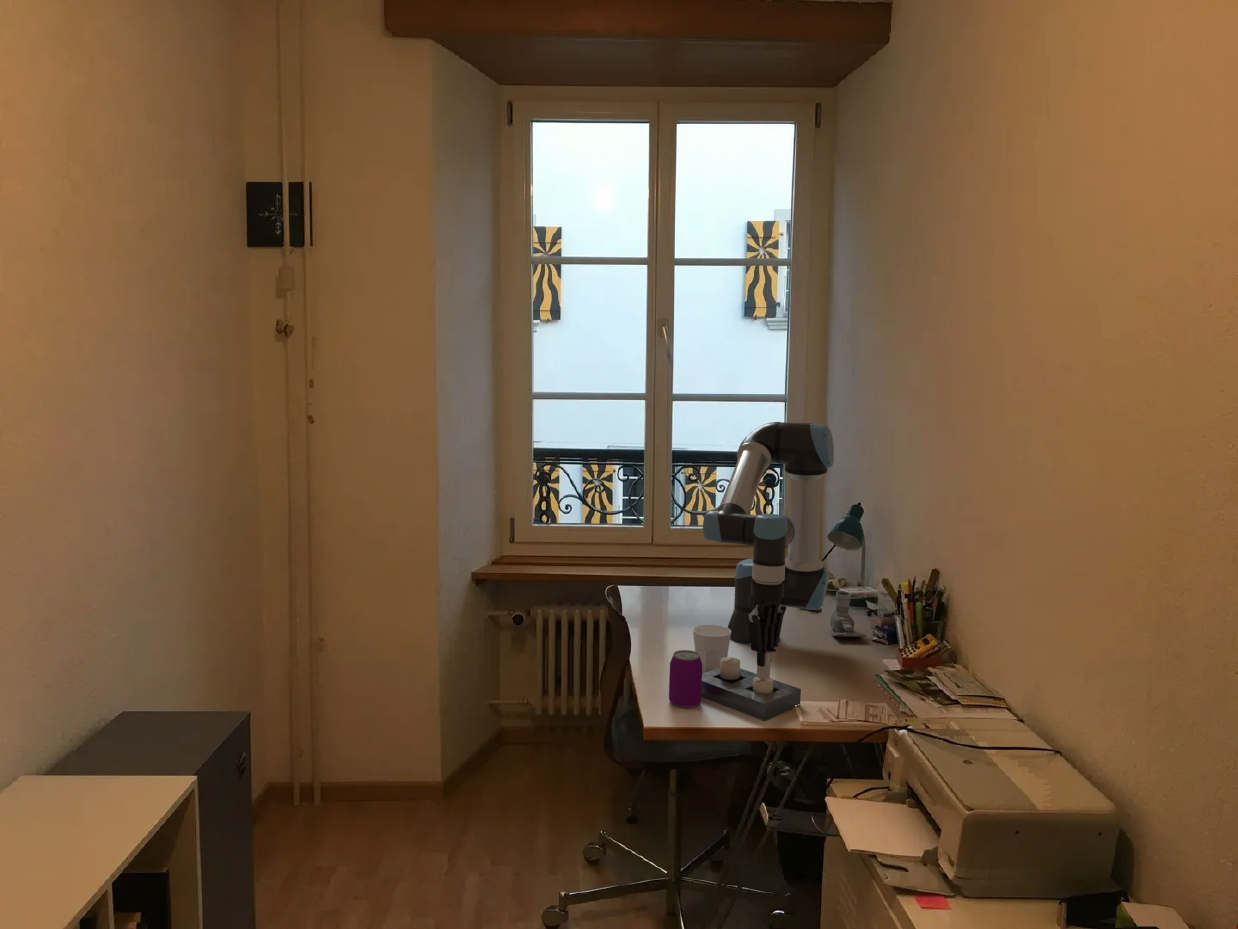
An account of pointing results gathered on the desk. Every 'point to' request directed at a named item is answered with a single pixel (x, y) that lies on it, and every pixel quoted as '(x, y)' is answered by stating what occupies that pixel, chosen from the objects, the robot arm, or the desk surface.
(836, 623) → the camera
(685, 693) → the beverage can
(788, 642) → the desk surface
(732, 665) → the knob
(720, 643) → the cup
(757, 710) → the mount plate
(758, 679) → the knob
